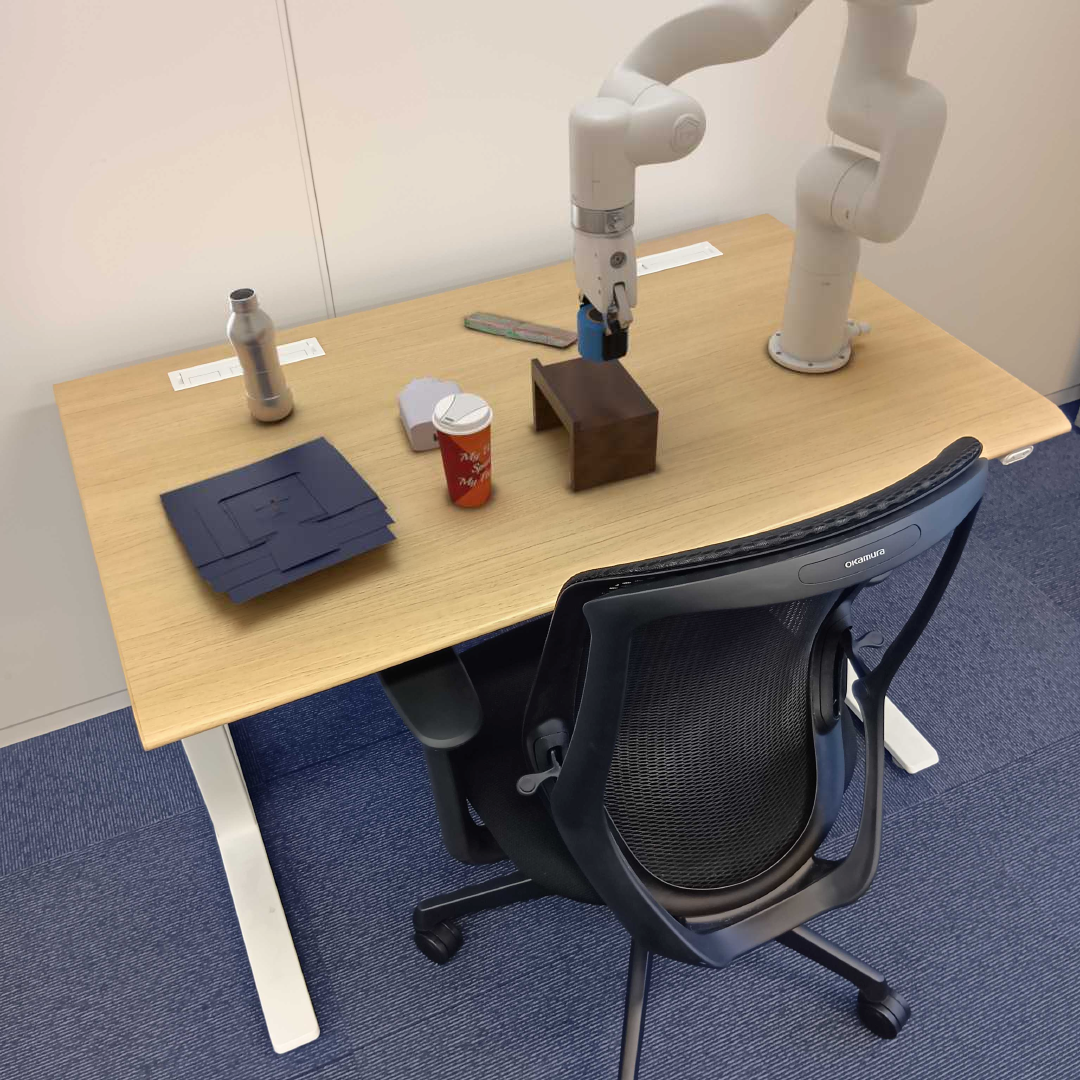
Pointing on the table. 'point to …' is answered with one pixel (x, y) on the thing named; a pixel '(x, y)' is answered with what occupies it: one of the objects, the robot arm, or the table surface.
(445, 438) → the paper cup
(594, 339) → the tape roll
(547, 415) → the desk shelf
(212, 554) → the navy flat layered slab
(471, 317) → the map
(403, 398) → the charger
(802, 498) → the table surface
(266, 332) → the silver metal bottle
